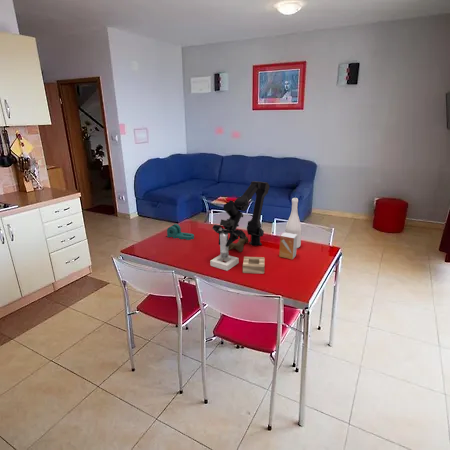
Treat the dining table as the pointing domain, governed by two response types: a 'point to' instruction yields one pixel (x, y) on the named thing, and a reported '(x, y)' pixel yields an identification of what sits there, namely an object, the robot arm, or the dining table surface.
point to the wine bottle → (294, 222)
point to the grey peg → (224, 245)
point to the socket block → (253, 265)
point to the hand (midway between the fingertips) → (222, 245)
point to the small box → (288, 245)
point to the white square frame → (225, 266)
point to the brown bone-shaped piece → (238, 244)
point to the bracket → (178, 233)
